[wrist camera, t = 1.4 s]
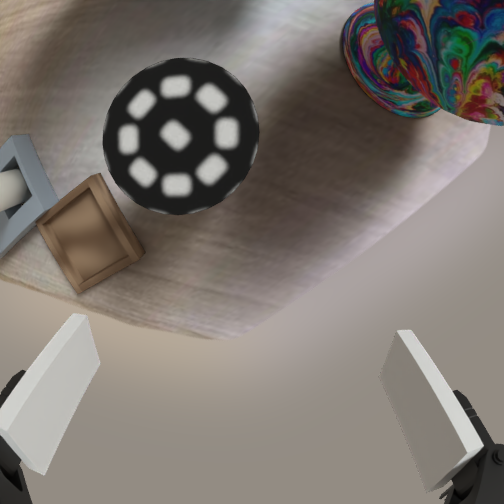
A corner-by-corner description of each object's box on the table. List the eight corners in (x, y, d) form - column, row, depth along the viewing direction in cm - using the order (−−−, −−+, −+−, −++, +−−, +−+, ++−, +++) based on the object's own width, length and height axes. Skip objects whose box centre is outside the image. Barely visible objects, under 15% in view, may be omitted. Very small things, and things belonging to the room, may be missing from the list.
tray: (44, 217, 35) (34, 222, 33) (100, 172, 34) (91, 175, 31) (85, 286, 39) (77, 294, 37) (145, 252, 37) (139, 259, 35)
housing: (-25, 198, 34) (-40, 204, 30) (28, 134, 31) (11, 135, 27) (2, 257, 38) (-12, 266, 34) (60, 203, 35) (44, 210, 31)
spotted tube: (269, 138, 33) (294, 133, 14) (218, 188, 35) (180, 246, 16) (218, 89, 31) (178, 29, 12) (168, 140, 33) (77, 146, 14)
